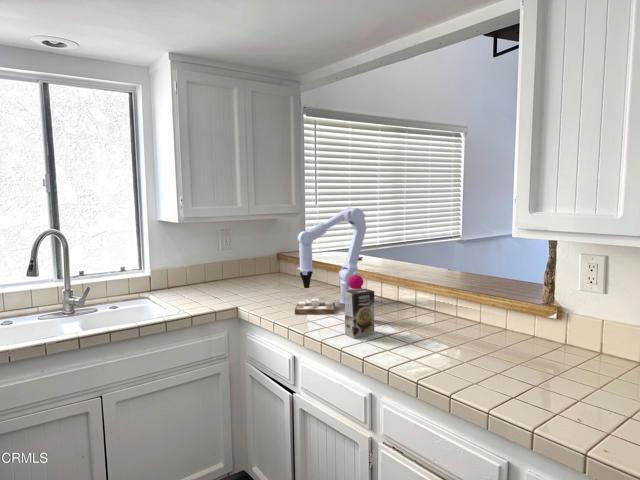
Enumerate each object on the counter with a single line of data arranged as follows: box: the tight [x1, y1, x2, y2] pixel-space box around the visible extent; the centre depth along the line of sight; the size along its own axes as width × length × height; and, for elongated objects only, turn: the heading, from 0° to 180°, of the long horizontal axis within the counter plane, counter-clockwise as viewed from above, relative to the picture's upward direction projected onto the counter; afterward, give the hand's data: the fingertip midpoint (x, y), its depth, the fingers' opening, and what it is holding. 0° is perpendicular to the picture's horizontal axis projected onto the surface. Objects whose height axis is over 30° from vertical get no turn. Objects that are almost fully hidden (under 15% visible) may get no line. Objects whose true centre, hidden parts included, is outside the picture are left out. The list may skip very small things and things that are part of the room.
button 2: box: [324, 301, 334, 306], centre depth 196 cm, size 3×3×3 cm
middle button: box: [311, 298, 320, 306], centre depth 196 cm, size 3×3×3 cm
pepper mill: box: [348, 272, 364, 290], centre depth 178 cm, size 7×7×20 cm
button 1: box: [297, 301, 307, 306], centre depth 197 cm, size 3×3×3 cm
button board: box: [294, 302, 336, 315], centre depth 195 cm, size 17×12×2 cm
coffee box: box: [344, 288, 375, 339], centre depth 161 cm, size 9×6×16 cm
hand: (306, 287), depth 202 cm, fingers closed
